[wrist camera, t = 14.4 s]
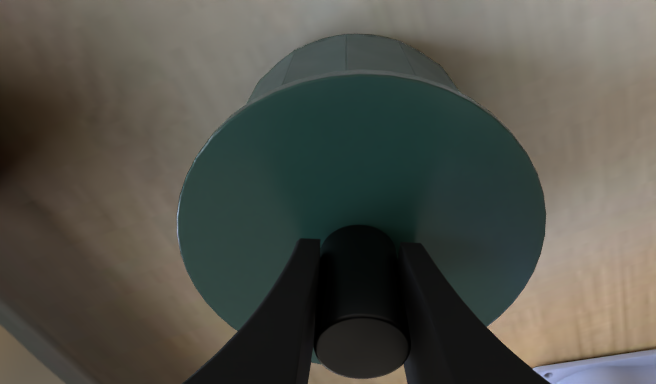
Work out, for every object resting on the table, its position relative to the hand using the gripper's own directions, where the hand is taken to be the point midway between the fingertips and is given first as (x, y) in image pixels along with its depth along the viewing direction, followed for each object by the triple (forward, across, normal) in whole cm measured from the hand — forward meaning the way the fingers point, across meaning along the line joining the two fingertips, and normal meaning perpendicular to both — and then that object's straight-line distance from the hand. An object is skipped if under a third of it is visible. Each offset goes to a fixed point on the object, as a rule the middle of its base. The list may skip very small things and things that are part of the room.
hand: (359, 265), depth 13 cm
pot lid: (+1, 0, 0) cm, 1 cm away
